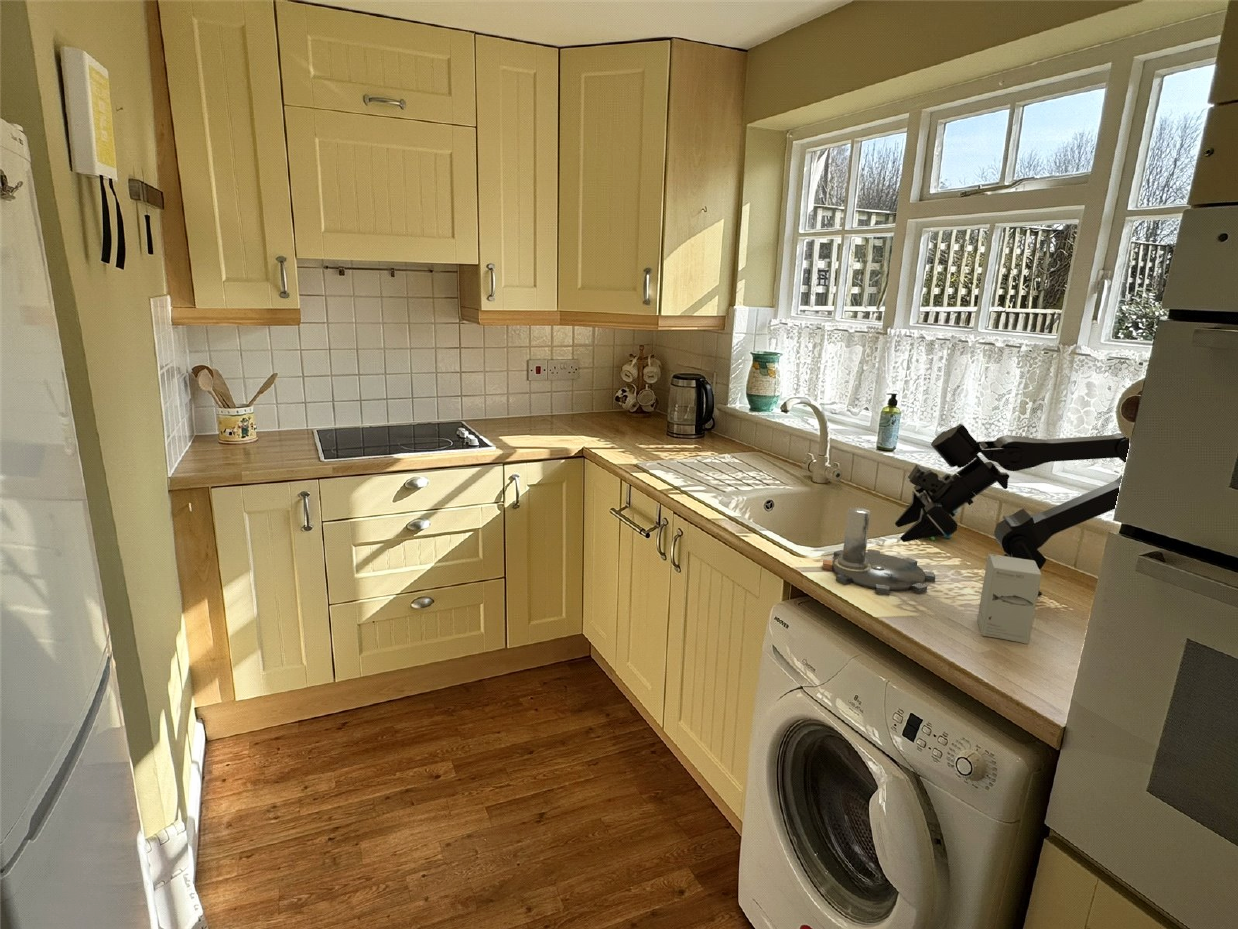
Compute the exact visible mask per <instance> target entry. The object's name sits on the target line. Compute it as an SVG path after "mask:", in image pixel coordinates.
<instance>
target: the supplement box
mask: <svg viewBox="0 0 1238 929" xmlns="http://www.w3.org/2000/svg"><path fill="white" fill-rule="evenodd" d="M1042 577H1043V576H1042V573H1041V569H1039V568H1038V566H1037V564H1036V562H1035V561H1034V560H1027V559H1020V558H1013V557H1007V556H1004V555H999V554H992V553H988V555H987V559H986V565H985V572H984V578H983V583H982V589H981V593H980V601H979V606H978V613H977V618H976V619H977V623H978V626H979V632H980V635H981V636H982V637H991V638H995V639H1001V640H1002V639H1003V640H1007V641H1011V642H1017V643H1023V644H1027V645H1028V644H1029V643H1030V639H1031V634H1032V627H1033V622H1034V617H1035V611H1036V606H1037V602H1038V597H1039V595H1038V592H1039V591H1040V586H1041V581H1042Z"/></svg>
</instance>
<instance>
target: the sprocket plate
mask: <svg viewBox="0 0 1238 929" xmlns="http://www.w3.org/2000/svg"><path fill="white" fill-rule="evenodd" d="M840 555H843V549H841V550H836V551H833V559H831V560H829V559H823V561H822V569H823V570H827V571H828V570H829V571H832V572H833V574H835V575H836V576H835V582H837V583H840V584H841V585H844V586H848V585H851V584H852V585H855V586H858V587H861V588H865V589H869V590H874V591H875V594H876V595H883V596H884V595H885V596H890V592H894V593H895V592H897V593H898V592H900V593H901V592H913V593H915V594H918V595H921V594H924V593H927V591H928V585H926V584H925V582H931V583H935V582H936V574H935V573H934V571H925V570H923V568H921V567H920V566H919V565H918V560H916V559H913V558H910V557H908V556H907V557H905V558H901V557H897V556H894V555H890V554H886V553H885V554H884V553H881V552H880V550H877V549H867V551H866V554H865V558H866V559H867V560H868V561H869V564H868V568H866V569H862V570H854V569H848V568H845V567H842V566H840V565H839V564H838V557H839V556H840Z"/></svg>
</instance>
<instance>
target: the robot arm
mask: <svg viewBox="0 0 1238 929" xmlns="http://www.w3.org/2000/svg"><path fill="white" fill-rule="evenodd" d="M930 446H931V447H932V448H933V450H935V451H936V452H937V454H938V455H939V456H940V457H941V458H942V459H943V461H944V462H946V464H947V465H948V466H949V468H955V467H956V468H958V469H959V470H958V471H957V472H955V473H953V475H951V474H950V473H946V474H945V475H943V476H942V477H941V476H940V475H939V474H938V473H937V472H934V471H933V470H932V469H927V468H925V467H924V466H922V465H919V464H915V466H914V467H913V468H912V470H911V472H910V473H909V475H908V476H907V478H908V479H909V482H910V483H911V484H913V485H914V486H913V489H914V490H912V492H911V502H910V503H909V505H908V506H907V507H906V509H905V510H904V511H903V512H902V514H901V515H900V516H899V517H898V518H897V520H896V521H895V522H894V524H895V526H896V528H901V527H904V526H907V525H910V524H912V525H911V526H910V527H909V528H907V530H906V531H905V532H904V533H903V534H902V535H901V536H900V538H899V539H900V540H901V542H902V543H906V542H913V541H916V540H922V539H929V538H930V537H934V538H935V537H940V536H941V537H946V536H945V534H946V535H947V536H951V535H953V534H954V533H955V532H957V531H958V526H959V525H958V522H957V521H956V519H955V518H954V517H955V516H956V513H955V514H954V512H955V511H956V510H959V509H960V508H962V507H963V506H965V505H966V504H968V506H971V505H972V504H973V503H974V501H973V499H975V498H976V497H977V496H979V495H980V494H982V493H983V492H984V491H986V490H988V488H990V487H991V486H993V485H994V484H996V483H998V484H999V486H1001V487H1002V489H1004V490H1007V489H1008V484H1009V478H1010V474H1008V472H1002V471H1000V470H999V468H998V467H997V466H996V464H994V463H997V464H998V465H999V467H1001V468H1003V470H1006V471H1010V472H1018V471H1023V470H1027V469H1032V468H1033V469H1034V468H1035V467H1037V466H1041V465H1043V464H1047V463H1053V462H1066V461H1067V462H1068V461H1069V462H1071V461H1083V460H1100V459H1116V458H1119V460H1121V461H1122V462H1123V463H1124V464H1125V462H1126V457H1127V453H1128V449H1129V438H1126V437H1125V436H1124V435H1122V433H1121V432H1117V433H1113V434H1109V435H1108V434H1107V435H1106V434H1105V435H1093V436H1091V435H1090V436H1079V437H1065V438H1064V437H1062V438H1050V439H1048V438H1047V439H1043V438H1035V437H1030V436H1029V437H1028V436H1021V435H1008V434H1007V435H1001V436H999V437H997V438H996V439H995V440H985V441H983V440H980V441H979V440H978V441H976V439H975V438H974V437H973V436H972V435H971V434H970V432H969V430H968V429H967V427H966V426H965V425H964V424H962V423H959V424H957V425H956V426H952V427H951V428H949V429H947V430H945V431H944V430H943V431H942V432H941V433H940V434H938V435H937V436H936V437H935V438H934V439H933V440H932V442H931V443H930ZM979 454H981V455H983V457H984V458H985V459H986V460H988V461H986V462H984V461H983V459H982V458H981V457H980V456H979ZM993 462H994V463H993ZM1121 479H1122V474H1121V475H1120V476H1119V477H1117V479H1115V480H1113V481H1110V482H1108V483H1106V484H1104V485H1102V486H1100V487H1097V488H1095V489H1093V490H1091V491H1088V492H1086V493H1083V494H1081V495H1079V496H1077V497H1073V498H1072V499H1069V500H1067V501H1065V502H1063V503H1060V504H1058V505H1055V506H1053V507H1051V508H1049V509H1046V510H1044V511H1042V512H1040V513H1039V512H1038V513H1031V514H1030V513H1029V512H1028V511H1027V510H1026V509H1025V508H1022V509H1019V510H1018V511H1016V512H1014V513H1013V514H1009V515H1005V516H1004V515H1003V516H1002V519H1003V520H1001V521H999V522H998V523H997V524H996V527H995V528H994V535H993V536H994V538H995V541H996V542H997V543H998V545H999V546H1000V547H1001V548H1002V550H1003V552H1004V553H1005V554H1004V555H1003V556H1007V557H1013V558H1020V559H1027V560H1034V561H1035V562H1036V564H1037V566H1038V568H1039V570H1041V569H1042V568H1043V567H1044V565H1045V563H1047V559H1046V558H1045V556H1044V555H1043V554H1042V553H1041V551H1039V549H1040V548H1041V547H1043V546H1044V545H1045V544H1046V543H1047V542H1048V541H1049V540H1050V539H1051V538H1052V537H1053V536H1054V535H1056V534H1058V533H1061V532H1063V531H1065V530H1068V529H1070V528H1072V527H1075V526H1078V525H1080V524H1083V523H1085V522H1087V521H1089V520H1091V519H1094V518H1097V517H1098V516H1102V515H1104V514H1105V513H1109V512H1111V511H1113V510H1115V505H1116V501H1117V496H1118V493H1119V486H1120V483H1121ZM943 532H944V533H945V534H944V533H943ZM1038 596H1043V592H1042V591H1041V590H1039V592H1038Z"/></svg>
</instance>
